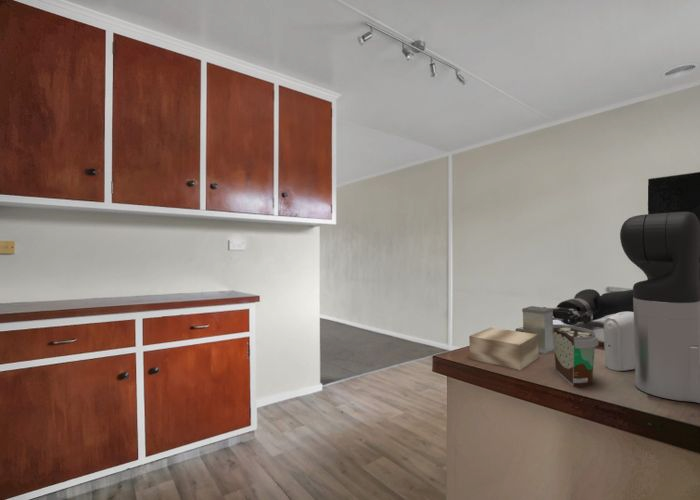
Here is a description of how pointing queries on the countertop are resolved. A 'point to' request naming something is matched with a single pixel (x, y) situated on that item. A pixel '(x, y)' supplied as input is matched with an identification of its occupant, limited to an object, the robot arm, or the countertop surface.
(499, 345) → the beech block
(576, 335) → the food container
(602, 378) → the countertop surface
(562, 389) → the countertop surface
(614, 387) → the countertop surface
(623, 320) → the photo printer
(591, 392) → the countertop surface
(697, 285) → the robot arm
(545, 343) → the tin canister
